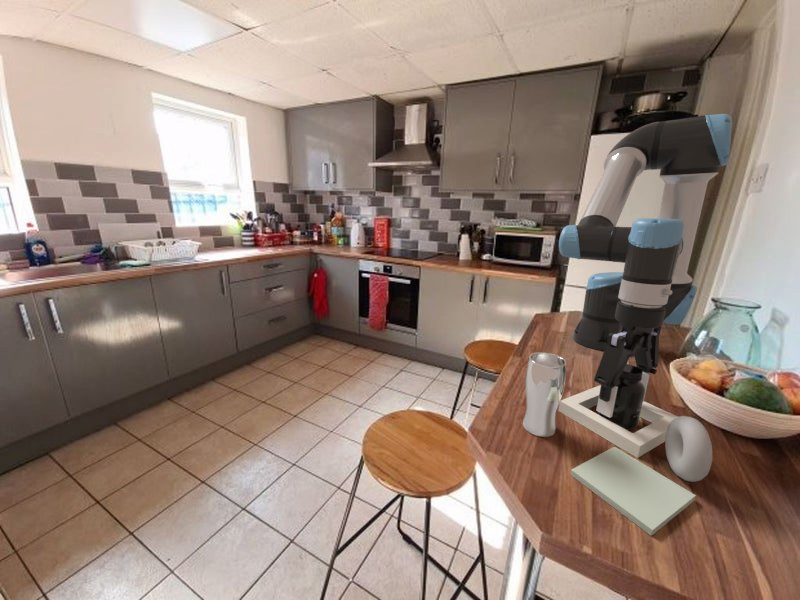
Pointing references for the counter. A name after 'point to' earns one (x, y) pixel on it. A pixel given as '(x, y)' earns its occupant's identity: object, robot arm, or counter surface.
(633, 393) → the supplement bottle
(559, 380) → the beer glass
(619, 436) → the holder
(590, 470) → the mat
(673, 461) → the donut
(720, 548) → the counter surface
